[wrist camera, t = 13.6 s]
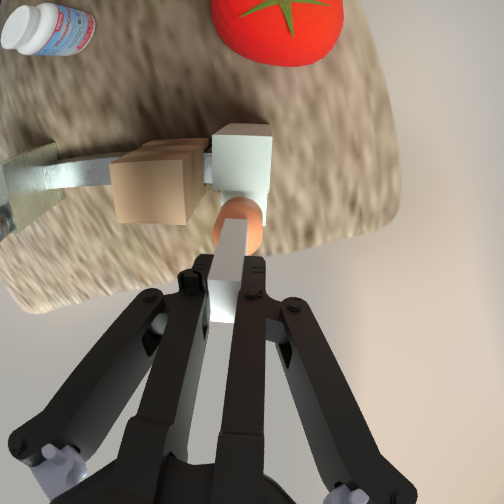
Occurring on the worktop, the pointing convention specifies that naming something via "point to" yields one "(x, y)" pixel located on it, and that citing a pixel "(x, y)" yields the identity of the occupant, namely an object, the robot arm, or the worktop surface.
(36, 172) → the rail
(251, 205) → the cylinder
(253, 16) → the tomato
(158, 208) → the block
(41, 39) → the pill bottle
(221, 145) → the pale stepped block
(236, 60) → the worktop surface
